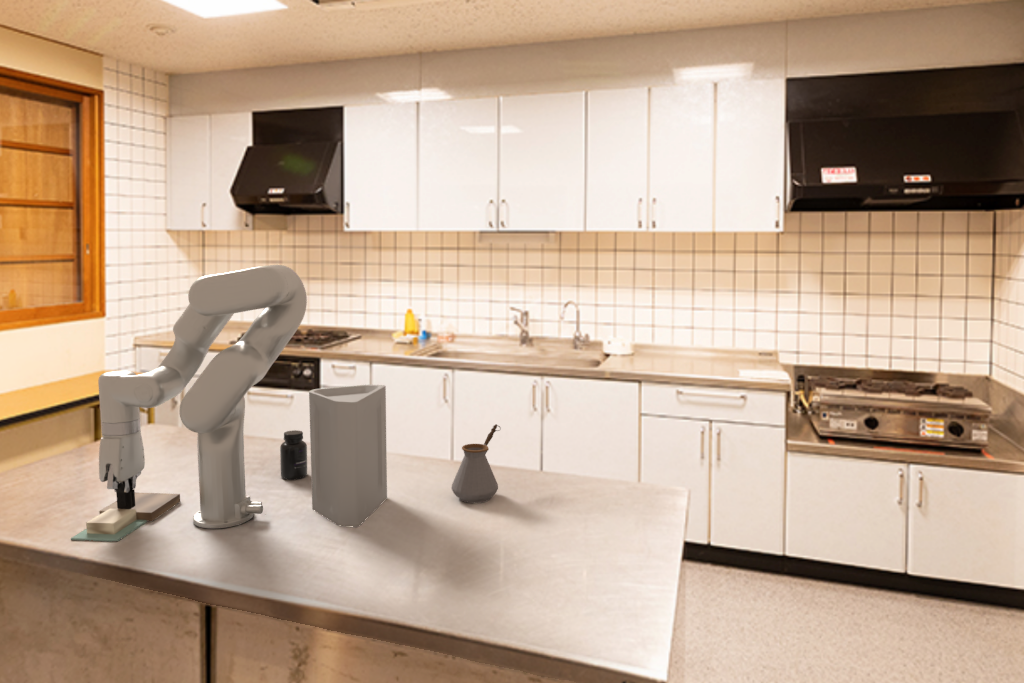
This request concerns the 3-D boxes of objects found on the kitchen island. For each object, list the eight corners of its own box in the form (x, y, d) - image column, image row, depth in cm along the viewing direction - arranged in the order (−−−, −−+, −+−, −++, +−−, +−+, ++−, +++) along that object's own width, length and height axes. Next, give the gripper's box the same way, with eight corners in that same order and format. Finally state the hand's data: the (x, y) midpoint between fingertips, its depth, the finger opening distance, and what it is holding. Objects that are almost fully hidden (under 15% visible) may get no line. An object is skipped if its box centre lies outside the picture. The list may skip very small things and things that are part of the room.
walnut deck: (180, 501, 169) (179, 493, 169) (152, 521, 157) (151, 512, 157) (131, 500, 170) (131, 492, 170) (99, 519, 158) (99, 510, 158)
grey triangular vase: (331, 493, 176) (328, 382, 173) (388, 497, 174) (386, 385, 170) (295, 522, 158) (291, 399, 154) (358, 527, 155) (355, 402, 151)
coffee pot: (488, 508, 167) (488, 447, 165) (443, 502, 171) (443, 442, 169) (517, 481, 187) (517, 425, 185) (476, 475, 191) (477, 421, 189)
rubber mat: (146, 521, 157) (146, 519, 157) (117, 541, 146) (117, 539, 146) (103, 520, 158) (103, 518, 158) (70, 539, 147) (70, 538, 147)
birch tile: (136, 519, 157) (135, 509, 157) (114, 534, 149) (113, 523, 149) (110, 518, 157) (109, 508, 157) (86, 533, 149) (86, 522, 149)
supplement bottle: (303, 480, 185) (301, 436, 184) (277, 480, 185) (275, 435, 184) (311, 472, 192) (309, 429, 190) (286, 471, 192) (284, 428, 191)
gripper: (125, 418, 163) (130, 495, 165) (82, 436, 148) (88, 520, 151) (156, 419, 162) (161, 496, 165) (116, 437, 148) (122, 521, 150)
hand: (126, 507), depth 158 cm, fingers closed
